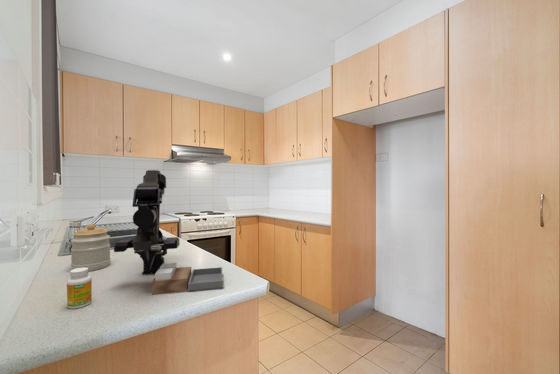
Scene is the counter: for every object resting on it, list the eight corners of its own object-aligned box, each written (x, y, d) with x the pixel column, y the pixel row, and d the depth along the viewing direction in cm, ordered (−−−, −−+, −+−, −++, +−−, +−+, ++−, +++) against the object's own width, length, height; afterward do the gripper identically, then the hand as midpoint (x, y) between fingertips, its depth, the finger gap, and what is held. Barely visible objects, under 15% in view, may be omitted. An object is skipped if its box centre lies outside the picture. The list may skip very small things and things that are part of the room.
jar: (86, 274, 96) (85, 227, 96) (62, 270, 100) (62, 225, 100) (118, 264, 109) (117, 222, 108) (96, 261, 113) (95, 221, 113)
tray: (188, 291, 79) (187, 283, 79) (192, 276, 93) (192, 269, 93) (222, 288, 82) (222, 280, 82) (222, 273, 95) (222, 267, 95)
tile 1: (159, 273, 84) (159, 267, 84) (162, 269, 88) (162, 263, 88) (174, 272, 85) (174, 266, 85) (176, 268, 89) (176, 262, 89)
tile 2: (155, 280, 78) (155, 273, 78) (158, 275, 83) (158, 269, 83) (171, 279, 79) (171, 272, 79) (173, 274, 84) (173, 268, 84)
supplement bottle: (72, 311, 68) (71, 274, 68) (63, 306, 70) (63, 270, 70) (95, 303, 72) (94, 268, 72) (86, 298, 75) (86, 265, 75)
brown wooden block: (152, 294, 77) (151, 281, 77) (161, 280, 89) (160, 268, 89) (187, 291, 80) (187, 278, 80) (191, 277, 91) (191, 266, 91)
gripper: (105, 228, 75) (106, 281, 76) (173, 225, 79) (174, 276, 80) (120, 223, 86) (121, 269, 86) (179, 220, 90) (180, 265, 90)
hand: (148, 270), depth 85 cm, fingers closed
